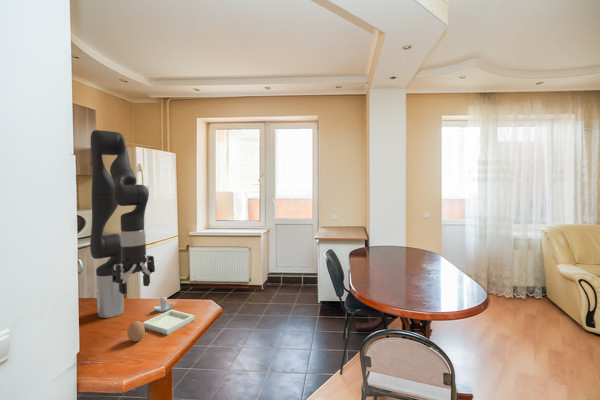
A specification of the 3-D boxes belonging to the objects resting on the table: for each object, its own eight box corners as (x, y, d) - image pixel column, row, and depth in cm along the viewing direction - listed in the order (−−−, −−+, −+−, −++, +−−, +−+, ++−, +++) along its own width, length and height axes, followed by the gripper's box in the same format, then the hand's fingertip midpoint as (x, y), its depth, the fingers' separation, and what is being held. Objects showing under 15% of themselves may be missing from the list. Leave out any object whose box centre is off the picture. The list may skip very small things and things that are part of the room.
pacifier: (153, 309, 136) (154, 314, 131) (153, 295, 136) (154, 299, 131) (172, 306, 140) (173, 311, 134) (171, 292, 139) (172, 296, 134)
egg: (125, 345, 106) (124, 325, 106) (130, 337, 112) (129, 318, 111) (143, 343, 108) (142, 323, 107) (146, 335, 113) (146, 316, 112)
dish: (143, 327, 119) (142, 322, 119) (171, 314, 131) (171, 309, 131) (167, 335, 113) (167, 329, 113) (194, 320, 125) (194, 315, 125)
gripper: (144, 238, 116) (146, 282, 117) (105, 246, 103) (108, 294, 104) (158, 240, 112) (160, 284, 113) (120, 248, 100) (122, 298, 101)
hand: (135, 289), depth 109 cm, fingers open, 8 cm apart
